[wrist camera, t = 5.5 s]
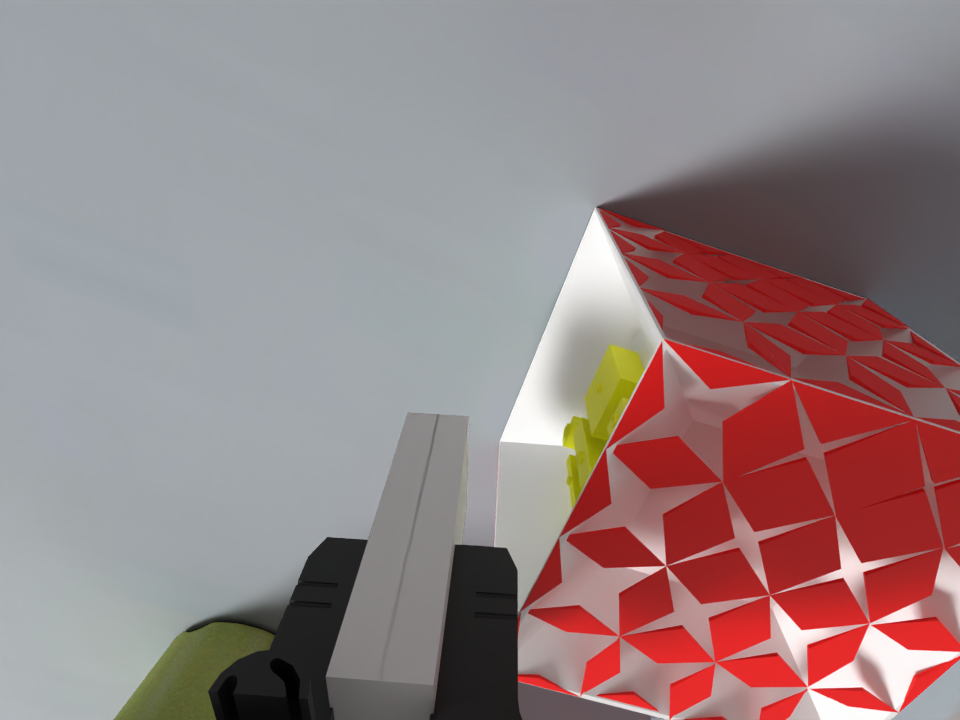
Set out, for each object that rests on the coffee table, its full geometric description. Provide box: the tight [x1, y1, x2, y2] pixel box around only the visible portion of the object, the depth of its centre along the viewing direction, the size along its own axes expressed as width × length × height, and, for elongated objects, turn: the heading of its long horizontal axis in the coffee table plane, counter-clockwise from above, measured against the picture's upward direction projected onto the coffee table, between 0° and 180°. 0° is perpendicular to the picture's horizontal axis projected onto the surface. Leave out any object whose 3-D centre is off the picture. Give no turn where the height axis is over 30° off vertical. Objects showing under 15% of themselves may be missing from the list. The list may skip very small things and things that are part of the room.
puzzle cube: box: [494, 207, 960, 720], centre depth 14 cm, size 8×8×8 cm
